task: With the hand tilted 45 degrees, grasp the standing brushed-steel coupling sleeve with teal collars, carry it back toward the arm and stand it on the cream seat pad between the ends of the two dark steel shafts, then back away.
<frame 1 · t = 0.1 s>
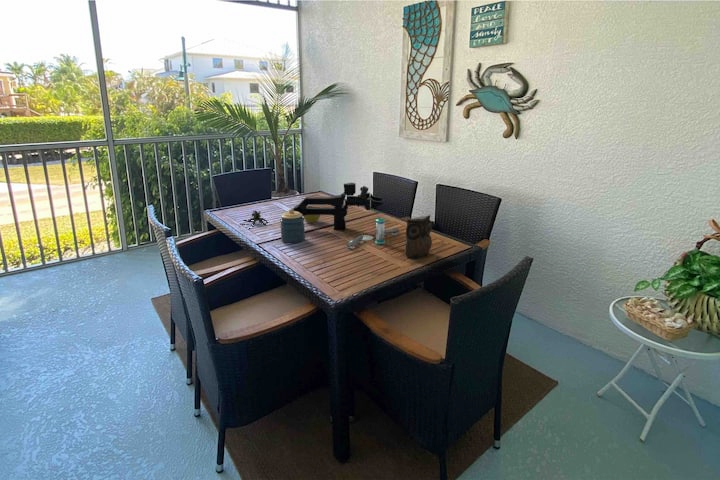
hand: (382, 201, 231), 17 cm above the table, tool horizontal, fingers open, 9 cm apart
canister: (293, 240, 217), on the table
shaft 2: (386, 235, 225), on the table
owl: (415, 254, 197), on the table
shaft 1: (355, 244, 210), on the table
coupling: (380, 243, 212), on the table
octopus toy: (255, 224, 248), on the table
flower pot: (312, 222, 250), on the table
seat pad: (366, 238, 220), on the table
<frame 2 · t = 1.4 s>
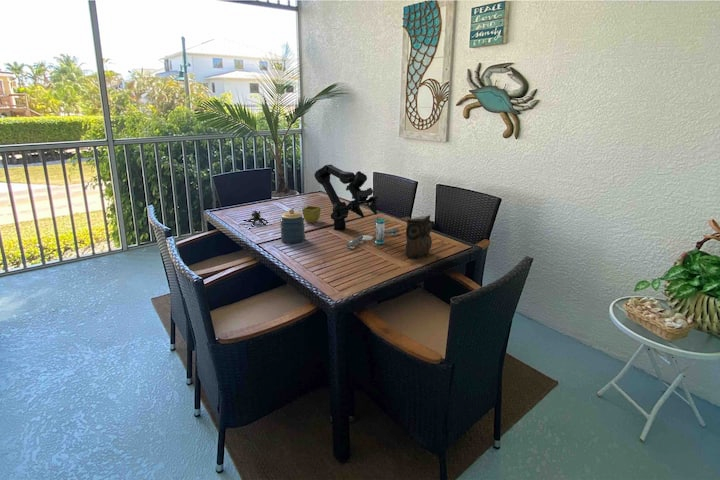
hand: (370, 215, 214), 13 cm above the table, tool tilted 45°, fingers open, 9 cm apart
nothing on the table moved.
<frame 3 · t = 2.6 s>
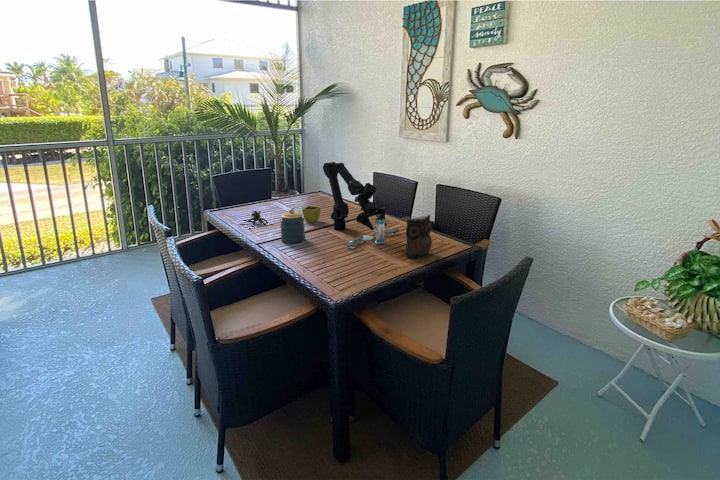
hand: (379, 228, 210), 8 cm above the table, tool tilted 45°, fingers open, 9 cm apart
nothing on the table moved.
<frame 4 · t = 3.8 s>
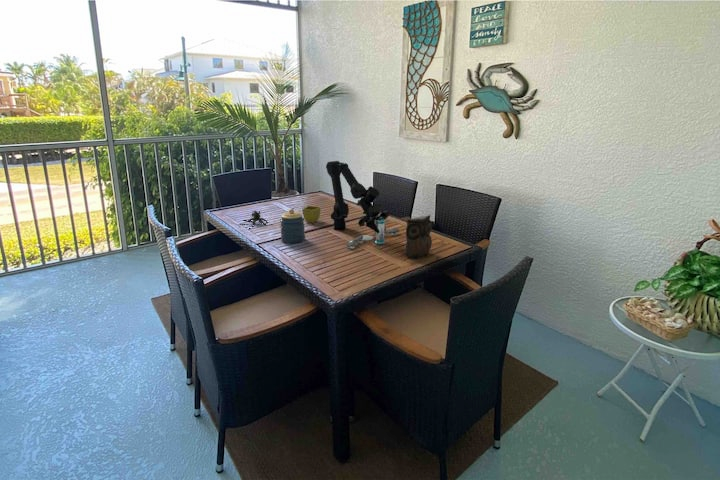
hand: (382, 231, 209), 7 cm above the table, tool tilted 45°, fingers closed on coupling, 4 cm apart
coupling: (380, 243, 212), on the table, touching gripper
everything else where it was.
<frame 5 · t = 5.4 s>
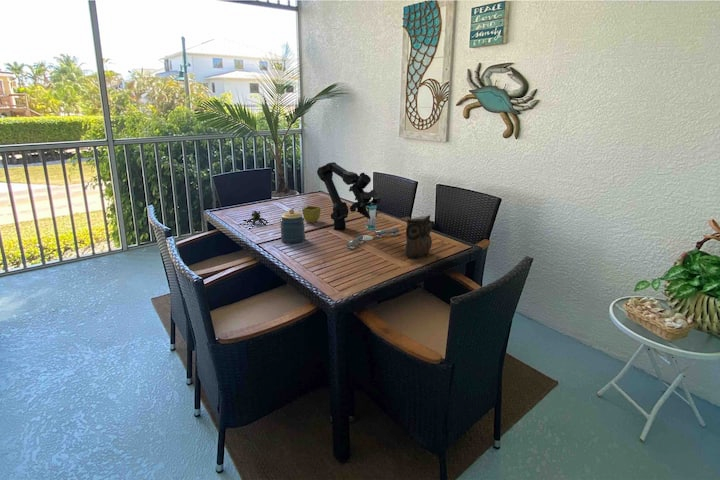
hand: (373, 217, 212), 13 cm above the table, tool tilted 45°, fingers closed on coupling, 4 cm apart
coupling: (371, 228, 215), point 6 cm above the table, touching gripper
everything else where it was.
when the fingers open (8 cm above the table, at t = 7.1 s): coupling drops 1 cm, resting on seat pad.
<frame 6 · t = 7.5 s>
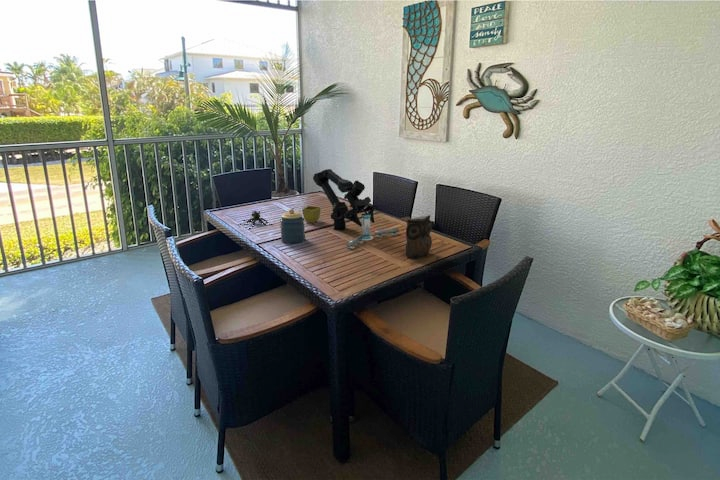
hand: (367, 224, 216), 8 cm above the table, tool tilted 45°, fingers open, 9 cm apart
coupling: (365, 237, 220), resting on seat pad
everything else where it was.
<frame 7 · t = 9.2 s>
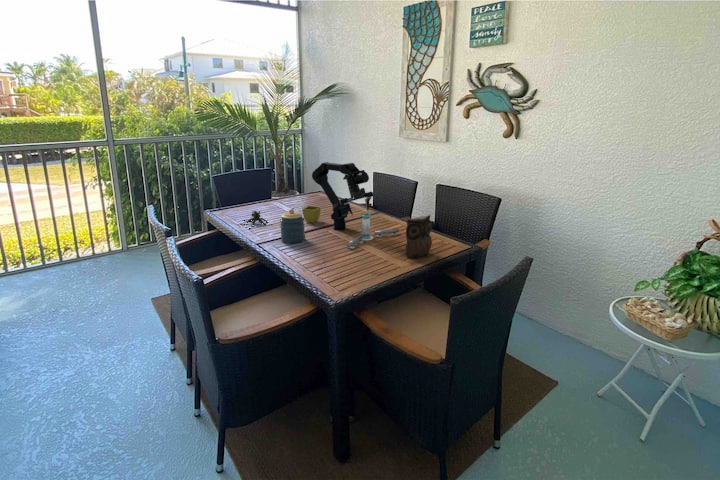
hand: (360, 213, 223), 12 cm above the table, tool tilted 20°, fingers open, 9 cm apart
nothing on the table moved.
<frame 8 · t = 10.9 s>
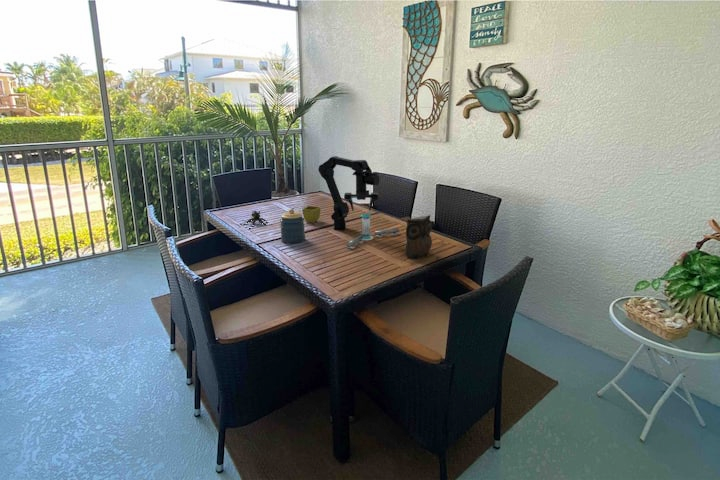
hand: (361, 211, 224), 13 cm above the table, tool pointing down, fingers open, 9 cm apart
nothing on the table moved.
at the end: coupling inside the target area on the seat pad (0.1 cm from its centre), point 0.3 cm above the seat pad's base; coupling tilted 0°; the gripper is holding nothing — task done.
